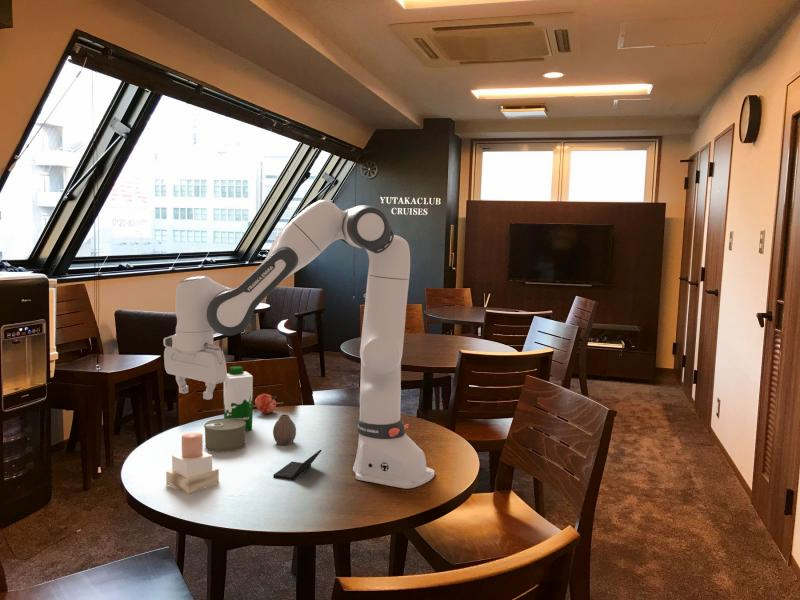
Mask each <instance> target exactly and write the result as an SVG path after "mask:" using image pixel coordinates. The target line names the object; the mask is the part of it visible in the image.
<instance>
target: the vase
mask: <svg viewBox="0 0 800 600" xmlns="http://www.w3.org/2000/svg"><path fill="white" fill-rule="evenodd" d="M296 435H297V427H296V425H295V423H294V421H293V420H292V418H291V417H290V415H289V414H286V413H285V414H284V413H282V414H281V415H280V416H279V418H278V419H277V421H276V422H275V423H274V426H273V429H272V436H273V440H274V441H275V442H276V444H277V445H280V446H289V445H291V444H292V443H293V442H294V441H295V439H296Z"/></svg>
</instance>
